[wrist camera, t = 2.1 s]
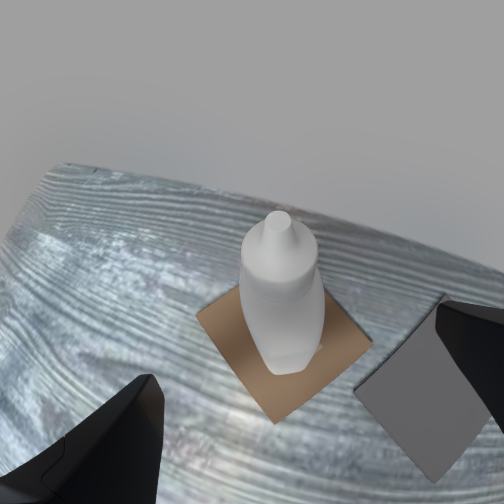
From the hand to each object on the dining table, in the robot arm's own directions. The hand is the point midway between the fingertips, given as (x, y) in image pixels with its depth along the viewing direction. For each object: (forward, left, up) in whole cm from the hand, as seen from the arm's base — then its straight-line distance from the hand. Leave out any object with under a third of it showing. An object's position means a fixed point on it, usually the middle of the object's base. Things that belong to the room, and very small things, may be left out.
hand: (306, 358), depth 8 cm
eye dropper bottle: (+3, -1, -10) cm, 11 cm away
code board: (+3, -1, -10) cm, 11 cm away
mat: (-8, -7, -10) cm, 15 cm away
